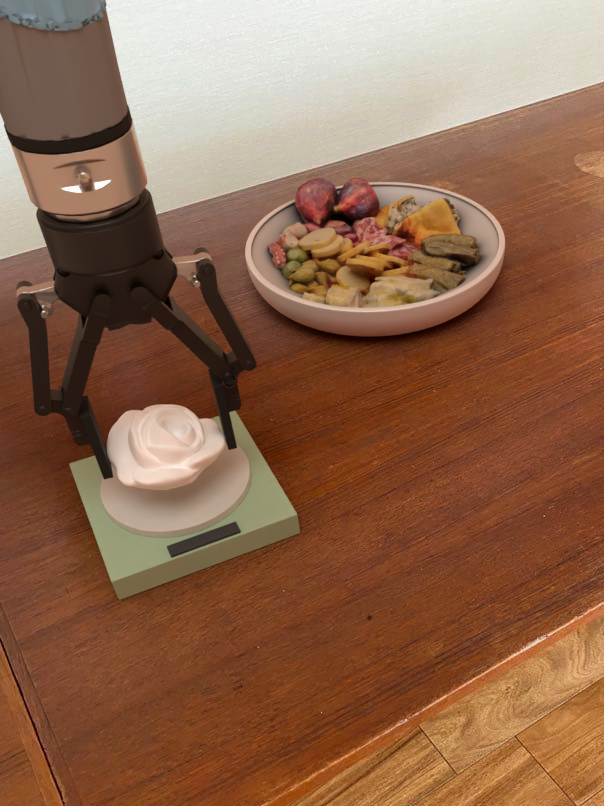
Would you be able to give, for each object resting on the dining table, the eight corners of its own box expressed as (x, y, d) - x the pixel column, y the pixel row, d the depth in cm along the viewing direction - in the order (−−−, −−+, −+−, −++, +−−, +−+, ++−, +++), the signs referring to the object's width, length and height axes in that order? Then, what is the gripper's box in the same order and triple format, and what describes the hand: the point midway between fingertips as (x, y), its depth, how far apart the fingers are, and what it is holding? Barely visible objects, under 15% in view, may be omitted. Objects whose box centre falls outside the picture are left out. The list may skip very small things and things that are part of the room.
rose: (95, 389, 73) (210, 368, 74) (110, 429, 76) (220, 409, 77) (97, 465, 66) (224, 441, 67) (114, 507, 69) (234, 482, 71)
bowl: (555, 282, 102) (562, 219, 96) (353, 386, 89) (347, 320, 84) (395, 196, 118) (392, 137, 112) (204, 274, 105) (191, 212, 100)
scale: (119, 600, 71) (108, 575, 68) (76, 482, 80) (65, 456, 78) (300, 533, 75) (296, 507, 73) (239, 429, 85) (233, 403, 83)
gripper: (-91, 255, 52) (35, 516, 68) (270, 191, 57) (308, 450, 73) (-86, 202, 57) (31, 456, 73) (247, 146, 61) (287, 398, 78)
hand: (169, 453), depth 73 cm, fingers closed on rose, 10 cm apart
